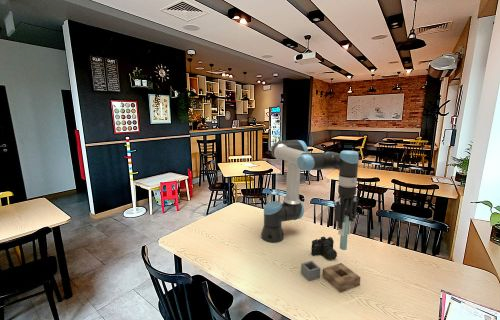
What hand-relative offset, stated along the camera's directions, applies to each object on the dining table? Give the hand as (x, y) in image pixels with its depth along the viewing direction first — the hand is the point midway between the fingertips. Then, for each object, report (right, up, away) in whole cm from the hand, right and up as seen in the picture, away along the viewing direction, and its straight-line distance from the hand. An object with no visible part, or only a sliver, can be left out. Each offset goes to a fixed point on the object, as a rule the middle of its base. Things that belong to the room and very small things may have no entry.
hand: (344, 234), depth 109 cm
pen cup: (-14, -24, +8) cm, 29 cm away
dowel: (0, -7, +1) cm, 7 cm away
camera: (-1, -21, +26) cm, 34 cm away
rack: (0, -25, +4) cm, 25 cm away
